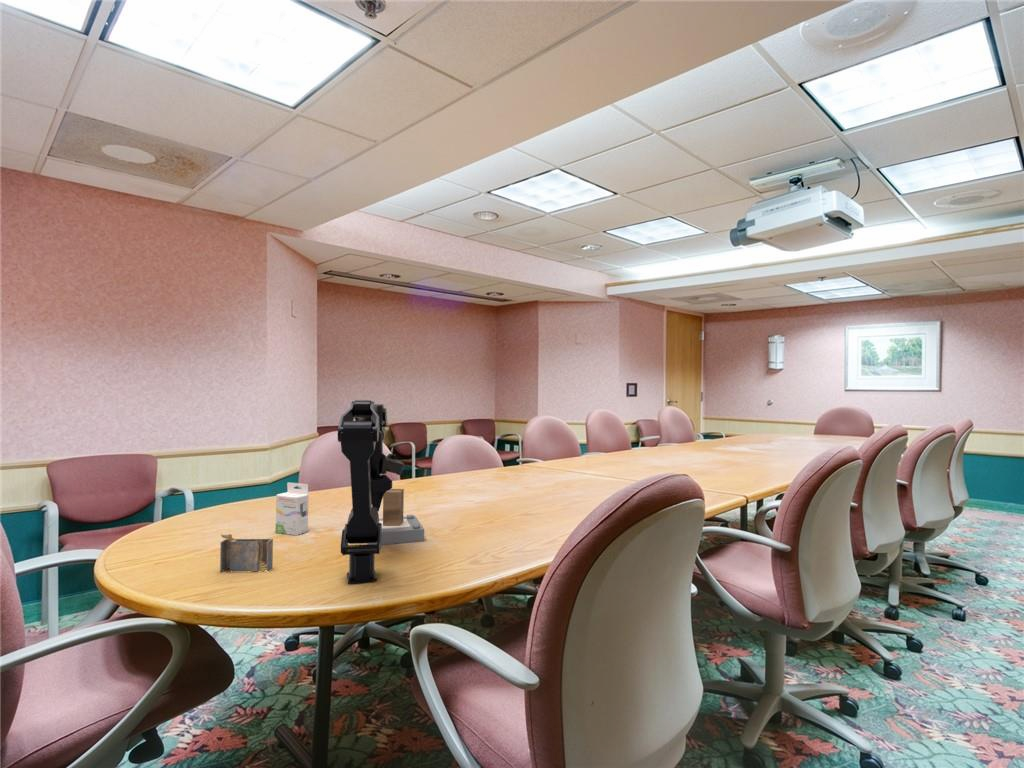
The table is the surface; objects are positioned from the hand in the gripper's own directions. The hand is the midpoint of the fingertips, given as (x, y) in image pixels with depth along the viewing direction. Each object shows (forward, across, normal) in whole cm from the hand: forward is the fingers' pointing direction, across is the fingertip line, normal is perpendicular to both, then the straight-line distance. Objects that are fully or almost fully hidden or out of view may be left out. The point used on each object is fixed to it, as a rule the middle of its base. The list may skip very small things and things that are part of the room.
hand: (372, 506), depth 143 cm
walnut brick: (+11, +11, -9) cm, 18 cm away
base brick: (+14, +11, -9) cm, 20 cm away
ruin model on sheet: (+12, -2, +31) cm, 33 cm away
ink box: (+15, +28, +18) cm, 37 cm away
